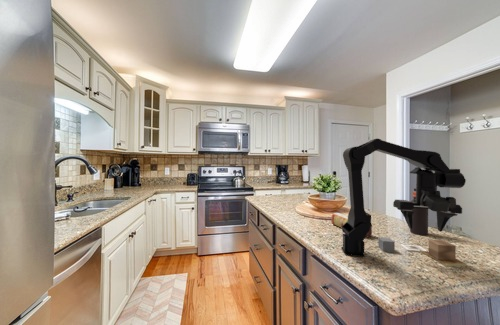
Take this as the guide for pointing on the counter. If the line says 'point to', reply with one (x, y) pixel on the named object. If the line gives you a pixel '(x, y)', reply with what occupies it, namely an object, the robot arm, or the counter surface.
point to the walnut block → (442, 250)
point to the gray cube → (386, 244)
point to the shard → (445, 262)
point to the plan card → (413, 248)
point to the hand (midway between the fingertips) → (425, 230)
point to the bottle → (419, 220)
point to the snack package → (344, 221)
